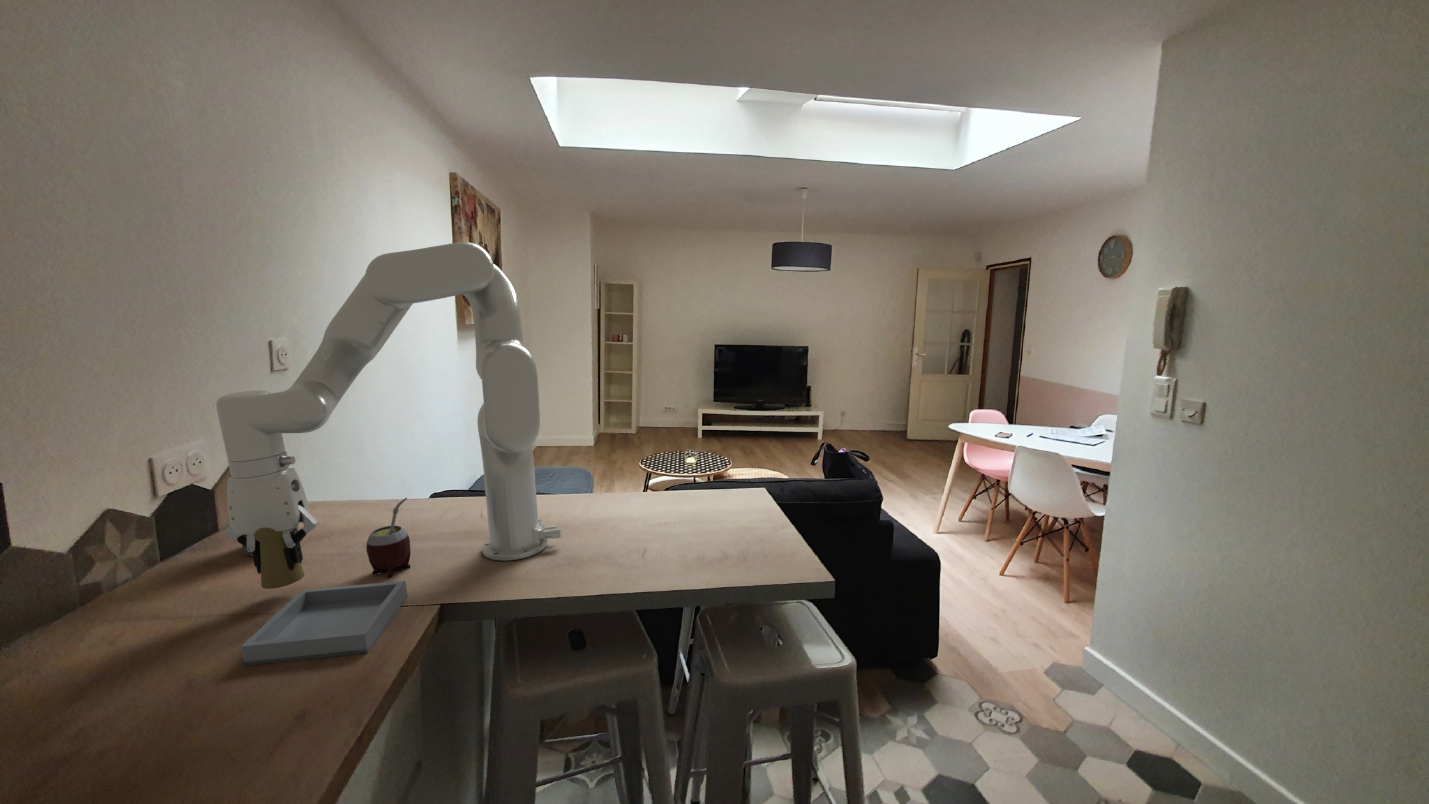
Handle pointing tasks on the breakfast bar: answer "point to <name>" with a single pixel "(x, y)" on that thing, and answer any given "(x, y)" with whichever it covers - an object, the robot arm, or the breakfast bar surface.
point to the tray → (326, 623)
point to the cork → (275, 560)
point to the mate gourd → (389, 548)
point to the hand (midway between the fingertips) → (280, 567)
